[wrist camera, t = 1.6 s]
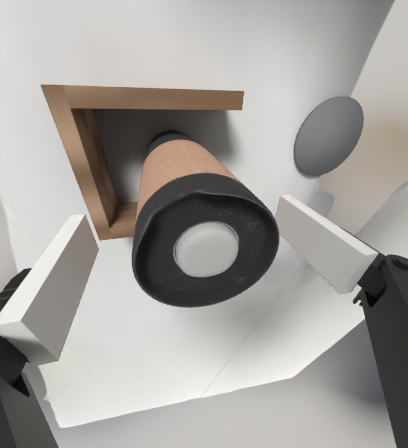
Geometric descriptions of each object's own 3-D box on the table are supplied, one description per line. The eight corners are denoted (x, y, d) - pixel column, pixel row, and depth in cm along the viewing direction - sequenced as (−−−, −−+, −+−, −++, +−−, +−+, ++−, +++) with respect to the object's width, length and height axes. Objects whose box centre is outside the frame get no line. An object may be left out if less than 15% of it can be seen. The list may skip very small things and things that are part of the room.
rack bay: (71, 89, 19) (40, 84, 14) (222, 93, 22) (244, 91, 17) (109, 213, 27) (99, 240, 22) (215, 203, 31) (229, 224, 25)
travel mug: (190, 190, 28) (242, 309, 12) (139, 177, 26) (117, 310, 9) (208, 139, 25) (312, 211, 9) (150, 118, 22) (147, 165, 6)
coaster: (307, 96, 25) (311, 95, 24) (371, 97, 27) (377, 97, 26) (285, 175, 31) (288, 177, 30) (339, 172, 33) (343, 173, 32)
